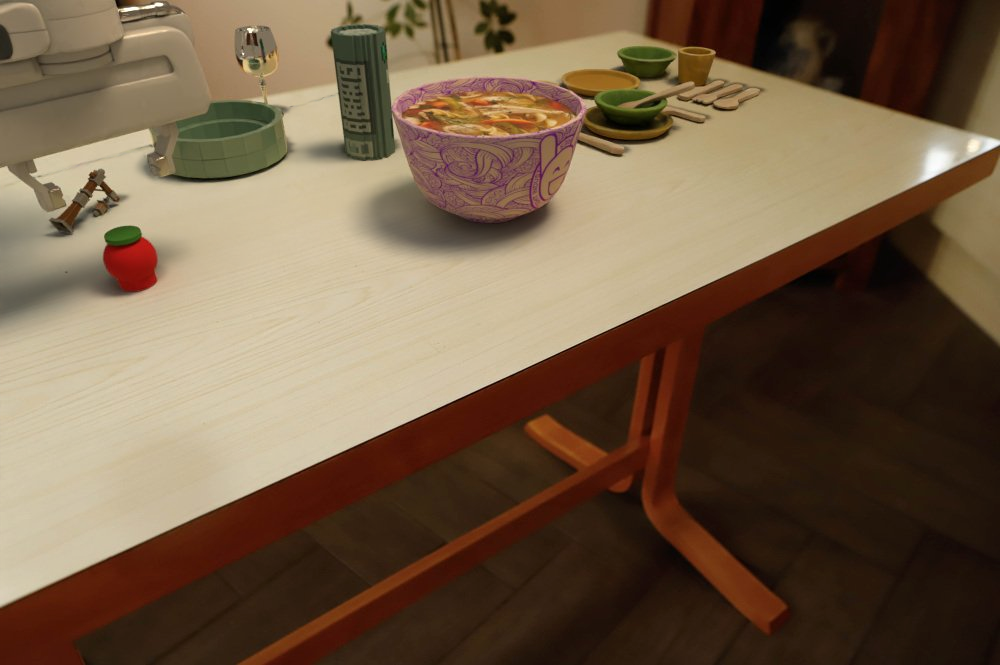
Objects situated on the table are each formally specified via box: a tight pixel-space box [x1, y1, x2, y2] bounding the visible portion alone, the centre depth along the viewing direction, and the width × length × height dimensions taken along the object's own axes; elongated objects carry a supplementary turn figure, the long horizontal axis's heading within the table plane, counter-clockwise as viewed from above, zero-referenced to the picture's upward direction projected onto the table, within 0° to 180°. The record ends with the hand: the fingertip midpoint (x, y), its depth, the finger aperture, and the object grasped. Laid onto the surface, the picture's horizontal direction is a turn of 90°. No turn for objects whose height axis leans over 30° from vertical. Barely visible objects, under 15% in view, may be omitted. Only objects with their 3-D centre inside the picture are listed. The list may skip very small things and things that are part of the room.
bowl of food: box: [391, 76, 588, 224], centre depth 77 cm, size 20×20×12 cm
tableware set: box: [534, 45, 761, 155], centre depth 110 cm, size 41×28×6 cm
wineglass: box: [234, 25, 285, 118], centre depth 102 cm, size 6×6×12 cm
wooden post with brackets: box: [48, 168, 121, 235], centre depth 77 cm, size 2×8×4 cm, turn 160°
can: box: [330, 23, 396, 161], centre depth 90 cm, size 6×6×15 cm
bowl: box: [148, 99, 288, 179], centre depth 91 cm, size 16×16×5 cm
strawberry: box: [102, 225, 158, 292], centre depth 65 cm, size 4×4×5 cm
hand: (111, 190), depth 62 cm, fingers open, 8 cm apart
